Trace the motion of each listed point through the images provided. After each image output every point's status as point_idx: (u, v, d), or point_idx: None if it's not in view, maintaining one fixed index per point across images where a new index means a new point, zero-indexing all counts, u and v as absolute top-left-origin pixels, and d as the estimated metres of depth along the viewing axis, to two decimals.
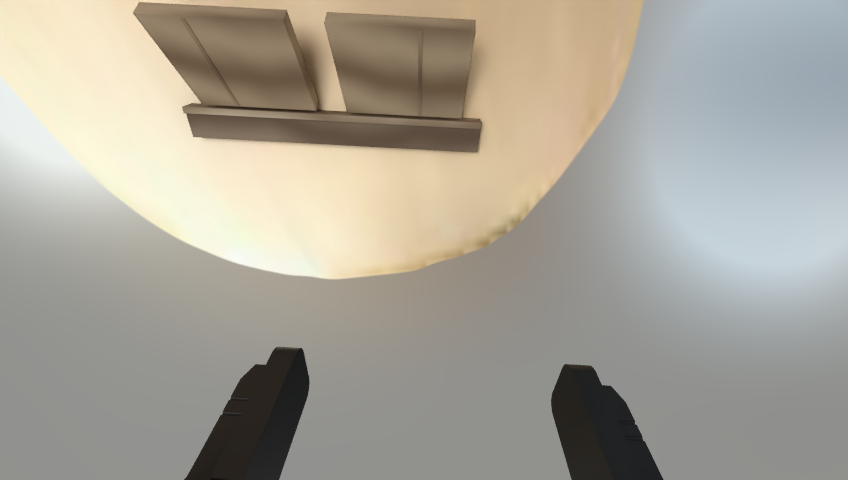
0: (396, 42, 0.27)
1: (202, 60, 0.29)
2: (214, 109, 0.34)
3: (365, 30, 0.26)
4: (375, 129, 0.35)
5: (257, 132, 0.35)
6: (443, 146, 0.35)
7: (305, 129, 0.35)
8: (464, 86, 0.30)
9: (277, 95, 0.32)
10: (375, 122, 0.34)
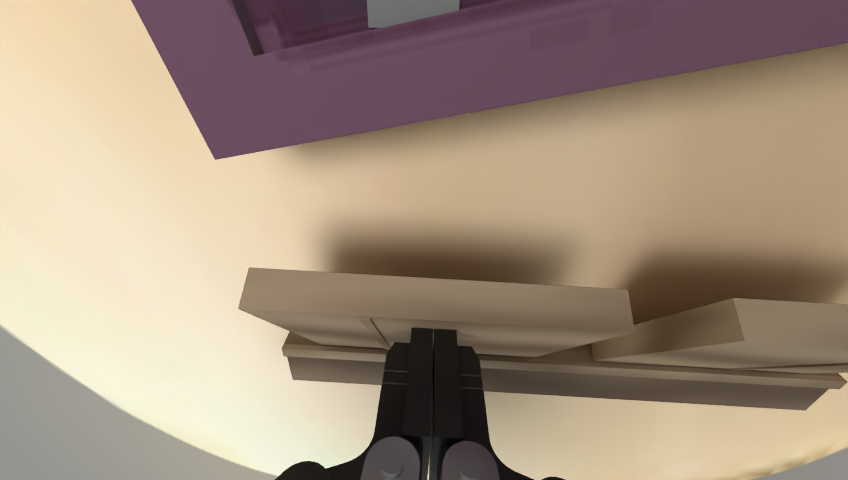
0: None
1: (362, 333, 0.13)
2: (342, 352, 0.18)
3: (836, 349, 0.10)
4: (632, 379, 0.19)
5: None
6: (747, 402, 0.20)
7: (501, 376, 0.19)
8: None
9: (479, 350, 0.16)
10: None
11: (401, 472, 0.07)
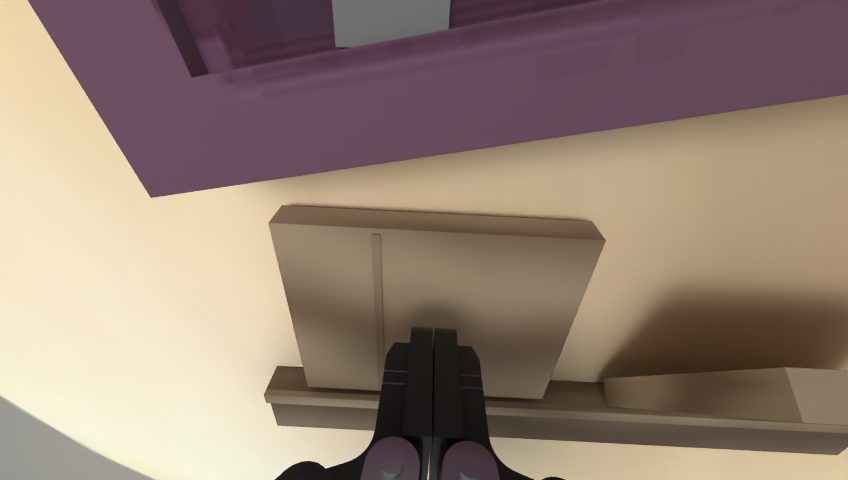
0: None
1: (363, 311, 0.14)
2: (330, 399, 0.16)
3: None
4: (650, 425, 0.17)
5: None
6: (774, 447, 0.18)
7: (506, 422, 0.17)
8: None
9: None
10: None
11: (401, 472, 0.07)
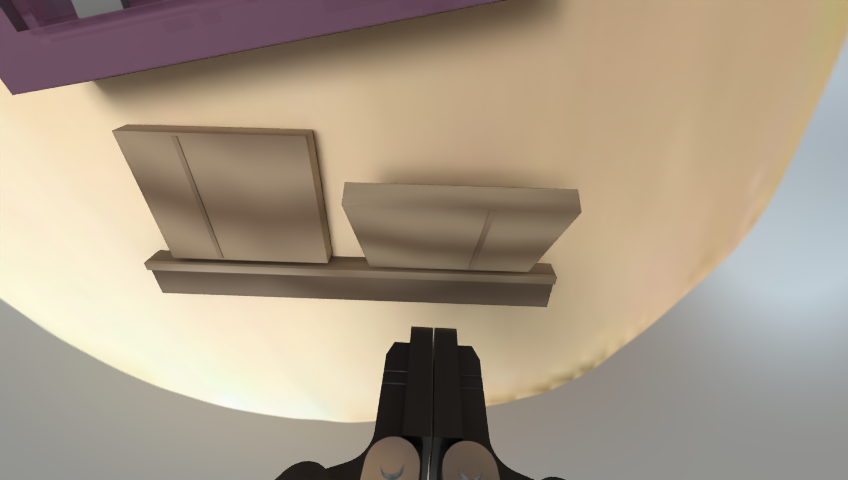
0: (452, 220, 0.17)
1: (187, 193, 0.22)
2: (188, 265, 0.25)
3: (405, 210, 0.17)
4: (408, 283, 0.25)
5: (247, 287, 0.26)
6: (500, 300, 0.26)
7: (312, 284, 0.26)
8: (543, 252, 0.21)
9: (278, 241, 0.24)
10: (408, 277, 0.25)
11: (401, 472, 0.07)
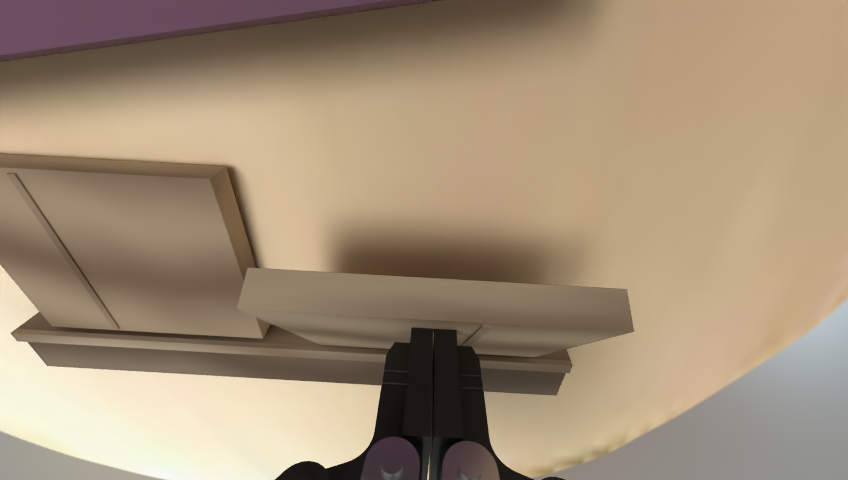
0: (422, 326, 0.11)
1: (51, 250, 0.15)
2: (71, 337, 0.18)
3: (345, 317, 0.10)
4: (373, 364, 0.19)
5: (159, 363, 0.20)
6: (495, 387, 0.20)
7: (245, 362, 0.19)
8: (559, 350, 0.14)
9: (191, 312, 0.17)
10: None
11: (401, 472, 0.07)
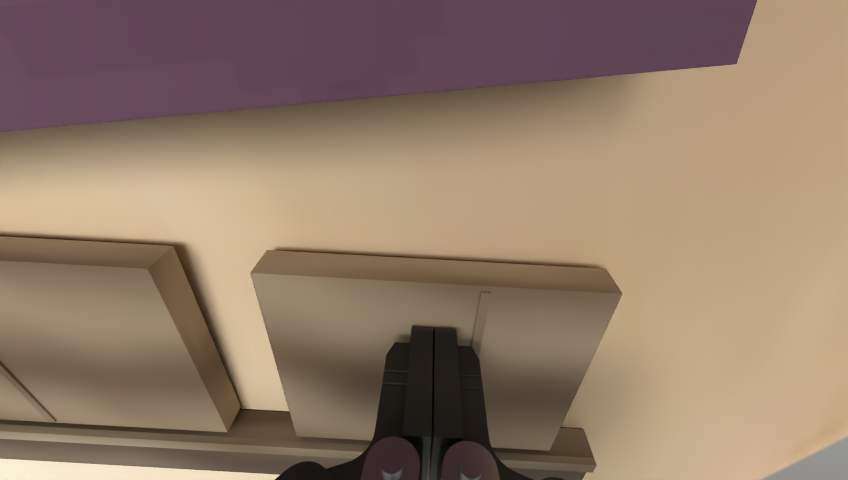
0: (423, 313, 0.11)
1: None
2: None
3: (350, 289, 0.11)
4: None
5: (107, 455, 0.17)
6: None
7: (208, 455, 0.16)
8: (570, 397, 0.13)
9: (140, 405, 0.14)
10: (358, 455, 0.15)
11: (401, 472, 0.07)
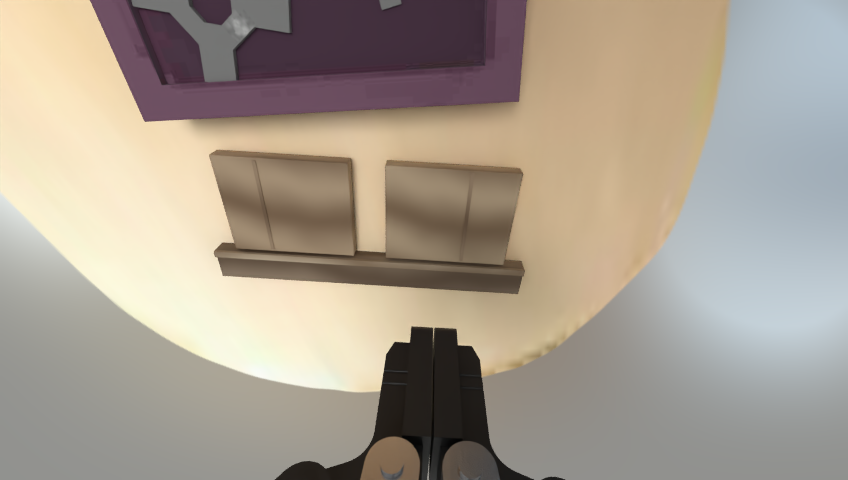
0: (448, 183, 0.29)
1: (255, 200, 0.30)
2: (247, 254, 0.33)
3: (422, 172, 0.28)
4: (413, 273, 0.34)
5: (290, 273, 0.34)
6: (483, 288, 0.34)
7: (340, 271, 0.34)
8: (509, 228, 0.31)
9: (318, 238, 0.32)
10: (414, 268, 0.33)
11: (401, 472, 0.07)
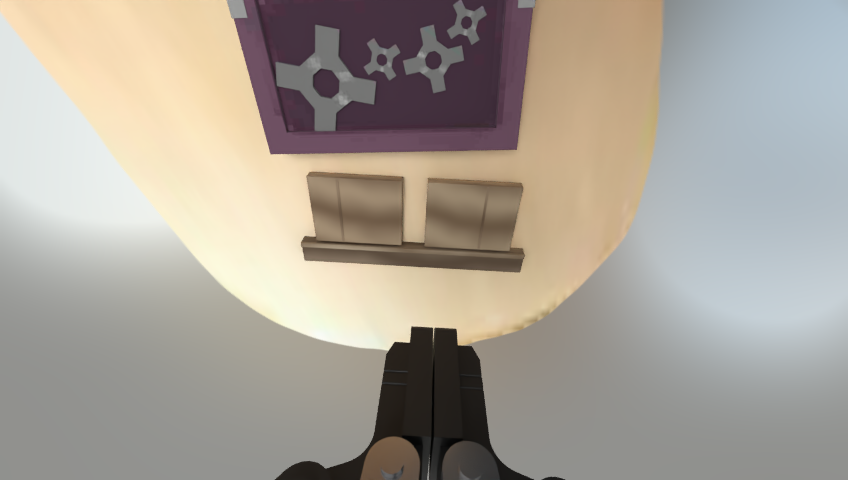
0: (471, 194, 0.41)
1: (334, 206, 0.43)
2: (324, 244, 0.45)
3: (453, 187, 0.41)
4: (444, 257, 0.46)
5: (354, 258, 0.47)
6: (494, 268, 0.47)
7: (390, 256, 0.46)
8: (513, 225, 0.43)
9: (376, 232, 0.44)
10: (444, 253, 0.46)
11: (401, 472, 0.07)
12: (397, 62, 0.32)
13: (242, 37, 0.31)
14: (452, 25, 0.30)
